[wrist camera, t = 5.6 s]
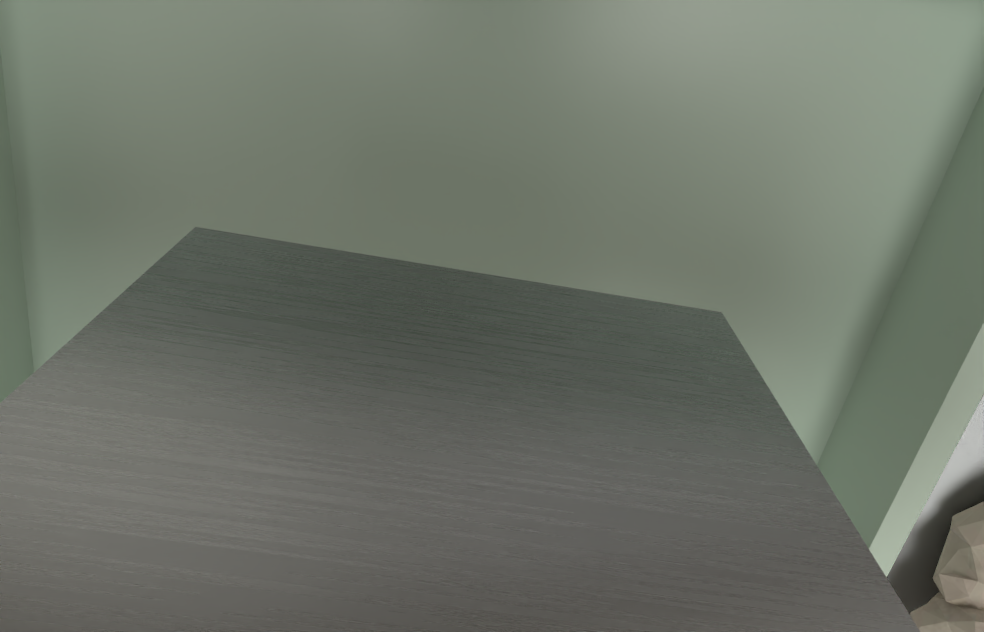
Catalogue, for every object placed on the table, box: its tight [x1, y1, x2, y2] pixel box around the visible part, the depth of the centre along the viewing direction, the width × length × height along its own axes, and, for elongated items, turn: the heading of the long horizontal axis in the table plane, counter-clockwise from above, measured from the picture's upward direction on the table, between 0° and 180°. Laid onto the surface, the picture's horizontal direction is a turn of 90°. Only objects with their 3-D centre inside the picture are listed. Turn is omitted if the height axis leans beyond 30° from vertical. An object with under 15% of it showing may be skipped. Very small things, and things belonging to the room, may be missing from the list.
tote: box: [0, 0, 984, 577], centre depth 14 cm, size 18×13×3 cm
